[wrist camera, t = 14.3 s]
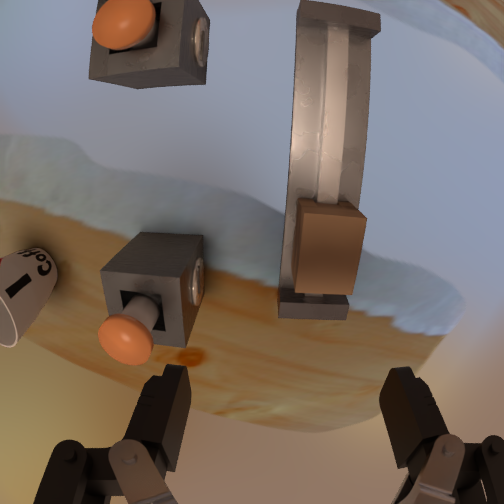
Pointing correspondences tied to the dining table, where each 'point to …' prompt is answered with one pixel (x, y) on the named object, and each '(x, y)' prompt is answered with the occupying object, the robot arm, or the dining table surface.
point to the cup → (23, 291)
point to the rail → (326, 131)
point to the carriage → (326, 247)
